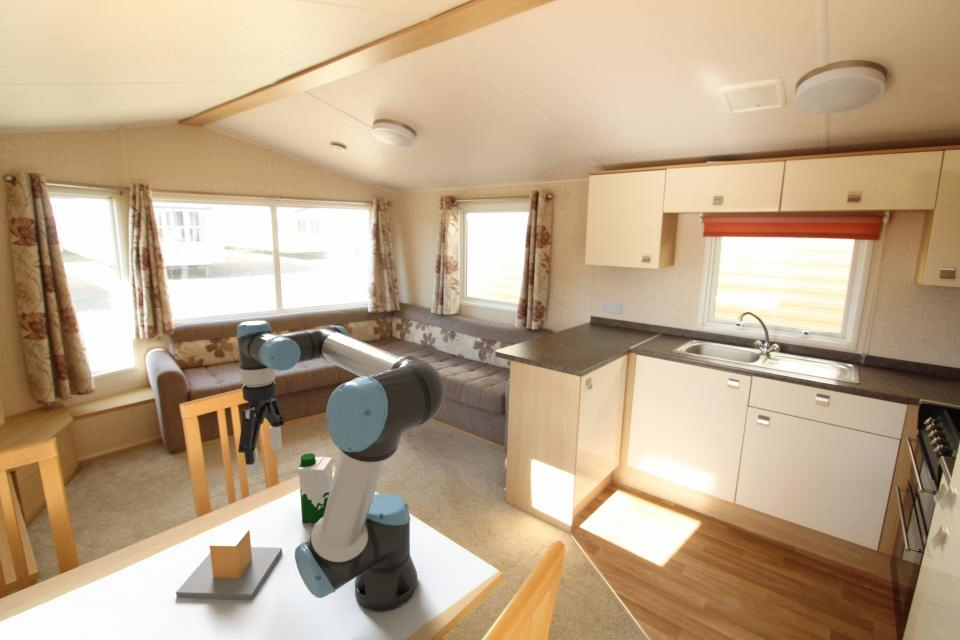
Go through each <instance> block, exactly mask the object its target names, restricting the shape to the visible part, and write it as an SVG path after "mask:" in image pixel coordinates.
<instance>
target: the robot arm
mask: <svg viewBox="0 0 960 640" xmlns="http://www.w3.org/2000/svg"><path fill="white" fill-rule="evenodd" d="M236 333H237V334H236V341H237V349H238V357H239V367H240V370H239V374H240V376H241V383H242V384H243V385H242V386H241V389H242V391H241V392H242V399H243V400H244V401H245V402H248V403H249V406H248V407H249V408H248V409H243V410H242V411H241V412H242V415H241V416H242V420H241V421H242V422H241V429H240V437H239V444H238V449H237V450H238V452H237V453H241V454H242V453H243V454H244V459H245V460H244V462H245V471H246V476H251V477H253V476H259V475H260V467H259V455H258V449H257V448H256V446H257V442H258V438H259V434H260V429H261V425H262V424H263V423H264V421H265V419H266V420H267V422H268V424H270V426H269V427H268V428H269V429H268V430H269V441H270V450H272V451H273V450H274V451H281V450H282V449H283V443H282V442H283V440H282V431H281V430H282V428H281V426H284V425H285V421H284V420H285V417H284V414H283V411H282V409H281V405H280V403H279V399H278V395H277V388H276V387H277V386H276V381H275V380H276V373H275V371H288V370H291V369H293V368H294V367H295V366H296V365H297V364H299V363H304V362H308V361H313V360H318V359H323V360H325V361H328V362H330V363H332V364H334V365H335V366H338V367H339V368H342V369H344V370H346V371H348V372H350V373H352V374H354V375H356V376H358V377H355V378H353V379H352V380H350V381H346V382H343V383H342V384H340V385H339V386H337V387H336V388H335V389H334V390H333V391H332V392H331V394H330V395H329V398H328V402H327V405H326V411H325V420H327V422H328V423H327V424H326V428H327V431H328V434H329V438H330V439H331V441H332V442H333V444H334V445H335V446H336V447H337V449H338V451H339V453H338V457H337V460H336V465H335V470H334V471H333V472H334V473H333V475H332V476H333V480H332V484H331V488H330V493H329V497H328V501H327V505H326V509H325V513H324V517H322V518H321V519H320V520H319V521H318V522H317V523H316V524H314V526H313V528H312V529H311V530H312V531H311V534H310V539H308V540H306V541H302V542H301V543H300V544H299V545H298V546H297V547H296V548H295V550H294V559H295V564H296V568H297V570H298V574H299V576H300V578H301V580H302V582H303V584H304V585H305V587H306V588H307V590H308V591H309V593H311V595H312V596H314V597H315V598H318V599H322V598H323V599H324V598H325V597H327V596H328V595H330V594H332V593H335V592H336V591H337V590H339V589H340V588H341V587H343V586H344V585H346V584H348V583H349V582H350V581H352V580H353V579H355V580H354V581H355V582H354V596H355V599H356V601H357V602H358V603H359V604H360V606H362V607H363V606H364V607H363V608H365V609H367V608H368V610H369V609H370V611H373V610H374V611H375V612H388V611H391V610H390V609H392V610H395V609H397V607H398V606H400V607H401V605H402V604H404V603H405V602H406V603H408V602H409V601H410V600H411V599H412V598H413V596H414V595H415V593H416V592H415V590H416V591H417V589H416V588H418V572H417V569H416V567H415V566H416V565H415V564H414V561H413V559H412V557H411V551H410V550H411V543H410V542H411V541H410V540H411V539H410V537H411V533H410V531H411V529H410V528H411V527H410V524H411V516H410V507H409V504H408V502H407V501H406V500H405V499H404V498H402V497H400V496H398V495H396V494H390V493H378V494H377V493H376V490H377V488H378V484H379V481H380V477H381V475H382V471H383V469H384V465H385V463H386V461H387V460H388V459H390V458H391V457H393V456H394V454H395V453H396V451H397V450H398V447H399V443H400V442H401V437H402V435H403V434H404V433H405V432H407V431H409V430H412V429H414V428H416V427H419V426H421V425H422V426H423V424H426V423H428V422H429V421H430V420H432V419H433V418H434V417H436V415H437V414H438V413H439V411H440V410H441V408H442V406H443V403H444V400H445V394H446V392H445V391H446V389H445V384H444V380H443V378H442V375H441V374H440V372H439V371H438V370H437V369H436V368H435V367H434V366H433V365H432V364H430V363H429V362H426V361H425V360H422V359H420V358H417V357H415V356H412V355H403V356H399V355H396V354H394V353H392V352H389V351H386V350H384V349H381V348H379V347H376V346H375V345H372V344H369V343H366V342H365V341H361V340H359V339H356V338H354V337H352V336H350V334H349V332H348V330H346V327H344V326H342V325H326V326H323V327H316V328H311V329H305V330H300V331H293V332H286V333H280V334H274V333H273V332H272V327H271V323H270V322H269V321H268V320H250V321H249V320H248V321H243V322H241V323H239V324H238V325H237V327H236ZM414 592H415V593H414ZM413 594H414V595H413ZM412 595H413V596H412ZM411 597H412V598H411ZM410 598H411V599H410ZM409 599H410V600H409ZM408 600H409V601H408ZM407 601H408V602H407ZM406 603H405V604H406ZM405 604H404V605H405ZM402 606H403V605H402ZM394 608H395V609H394ZM398 608H399V607H398ZM387 610H388V611H387ZM374 611H373V612H374Z"/></svg>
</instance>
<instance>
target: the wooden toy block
mask: <svg viewBox="0 0 960 640" xmlns="http://www.w3.org/2000/svg"><path fill="white" fill-rule="evenodd" d="M251 543H252V542H251V531H250V528H226V527H225V528H224V529H223V530H222V531H221V532H220V533H219V534H218V535H217V536H216V537H215V538H214V540H213V541H212V542H211V544H209V551H210V552H209V554H211V563H212V572H213V578H239V577H240V576H241V575H242V573H243V572H244V570H245V569H246V568H247V566H248V565H249V563H250V562H251V561H252V553H251V547H252V544H251Z"/></svg>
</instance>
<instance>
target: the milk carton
mask: <svg viewBox="0 0 960 640" xmlns="http://www.w3.org/2000/svg"><path fill="white" fill-rule="evenodd" d="M297 474H298V478H299V488H300V489H299V493H300V505H301V507H300V509H301V523H302V524H308V523H317V522H318V521H319V520H320V519H321V518H322V517H324V513H325V509H326V505H327V501H328V497H329V493H330V488H331V484H332V480H333V476H334V475H333V457H327V456H316V455H315V454H314V453H312V452H311V453H305V454H302V455H301V456H300V464H299V466H298V468H297Z"/></svg>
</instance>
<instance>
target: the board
mask: <svg viewBox="0 0 960 640" xmlns="http://www.w3.org/2000/svg"><path fill="white" fill-rule="evenodd" d="M251 553H252V561H251V562H250V563H249V565H248V566H247V568H246V569H245V570H244V572H243V573H242V575H241V576H240V577H239V578H213V572H212V563H211V554H210V553H208V555H207V556H206V557H205V558H204V559H203V561H201V563H200V564H199V565H198V566H197V568H196V569H195V570H194V571H192V573H191V574H190V576H189V577H188V578H187V579H186V580H185V581H184V583H182V585H180V587H179V588H178V589H177V590H176V591H175V596H176V599H178V598H179V599H209V600H211V599H216V600H249V601H251V600H253V599H254V597H255V596H256V594H257V593H258V591H259V590H260V588H261V586H262V585H263V584H264V581H266V579H267V578H268V575H269V574H270V573H271V570H272V569H273V567H274V566H275V564H276V563H277V561H278V560H279V558H280V557H281V555H282V553H283V547H266V546H265V547H264V546H251Z"/></svg>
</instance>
